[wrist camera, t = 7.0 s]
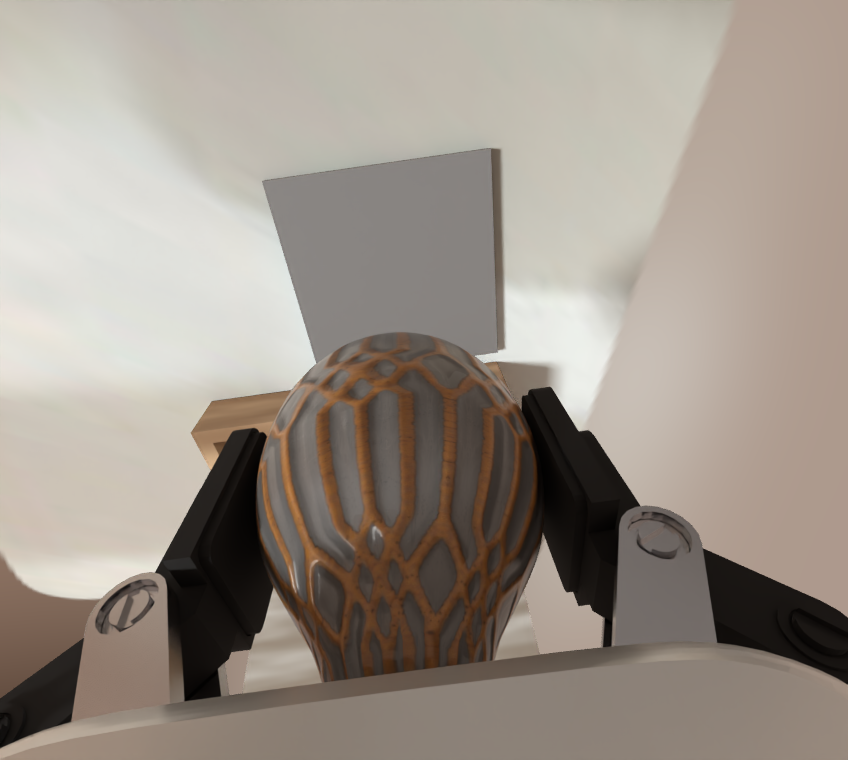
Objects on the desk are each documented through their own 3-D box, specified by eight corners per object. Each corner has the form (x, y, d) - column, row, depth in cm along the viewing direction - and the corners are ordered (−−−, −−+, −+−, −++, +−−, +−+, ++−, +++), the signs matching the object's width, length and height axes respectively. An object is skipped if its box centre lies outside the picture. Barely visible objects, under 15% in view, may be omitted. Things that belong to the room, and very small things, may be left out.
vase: (535, 329, 13) (740, 609, 5) (464, 487, 16) (527, 797, 9) (309, 272, 11) (148, 542, 4) (282, 457, 15) (168, 796, 7)
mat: (264, 180, 22) (262, 181, 21) (488, 148, 22) (490, 148, 21) (321, 373, 28) (320, 377, 28) (496, 348, 28) (497, 352, 28)
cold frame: (211, 401, 29) (24, 682, 14) (496, 361, 29) (605, 603, 14) (291, 568, 39) (230, 833, 24) (502, 539, 39) (569, 788, 24)
